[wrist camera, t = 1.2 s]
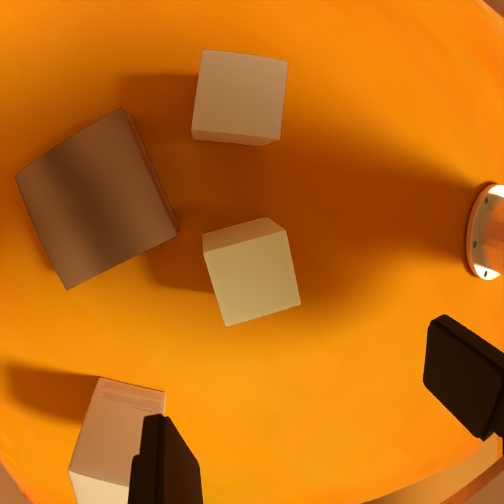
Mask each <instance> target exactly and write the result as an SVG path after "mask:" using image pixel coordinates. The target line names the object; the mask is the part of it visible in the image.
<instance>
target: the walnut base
mask: <svg viewBox="0 0 504 504" xmlns="http://www.w3.org/2000/svg"><path fill="white" fill-rule="evenodd" d="M15 179H16V182H17V185H18V187H19V190H20V193H21V195H22V198H23V200H24V203H25V205H26V208H27V210H28V213H29V215H30V218H31V220H32V222H33V224H34V227H35V229H36V231H37V233H38V236H39V238H40V240H41V242H42V244H43V246H44V248H45V250H46V252H47V254H48V256H49V258H50V260H51V262H52V264H53V266H54V268H55V270H56V272H57V274H58V276H59V278H60V279H61V281H62V283H63V285H64V287H65V289H66V290H69V289H71V288H73V287H75V286H77V285H79V284H81V283H83V282H85V281H86V280H88V279H90V278H92V277H94V276H96V275H98V274H100V273H102V272H104V271H106V270H108V269H110V268H112V267H114V266H116V265H118V264H120V263H122V262H124V261H126V260H128V259H130V258H132V257H134V256H136V255H139V254H141V253H143V252H145V251H147V250H149V249H151V248H153V247H155V246H157V245H159V244H161V243H164V242H166V241H168V240H170V239H172V238H174V237H176V236H178V232H179V229H180V225H179V223H178V221H177V219H176V217H175V215H174V213H173V210H172V208H171V206H170V204H169V202H168V199H167V197H166V195H165V193H164V191H163V188H162V186H161V184H160V182H159V179H158V177H157V175H156V172H155V170H154V168H153V166H152V163H151V161H150V159H149V156H148V154H147V152H146V149H145V147H144V144H143V142H142V140H141V137H140V135H139V132H138V130H137V128H136V125H135V123H134V120H133V118H132V116H131V115H130V114H128V113H127V112H126V111H125V110H123V109H122V108H120V109H119V110H117V111H115V112H113V113H111V114H109V115H107V116H105V117H104V118H102V119H100V120H98V121H96V122H95V123H93V124H91V125H89V126H88V127H86V128H84V129H83V130H81V131H79V132H78V133H76V134H74V135H73V136H71V137H70V138H68V139H66V140H65V141H63V142H62V143H60V144H59V145H57V146H56V147H54V148H53V149H51V150H50V151H48V152H47V153H45V154H44V155H42V156H41V157H39V158H38V159H37V160H35V161H34V162H32V163H31V164H30V165H28V166H27V167H26V168H24V169H23V170H22V171H20V172H19V173H18V174H16V175H15Z"/></svg>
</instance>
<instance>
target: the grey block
mask: <svg viewBox="0 0 504 504" xmlns="http://www.w3.org/2000/svg"><path fill="white" fill-rule="evenodd" d="M287 68H288V61H283V60H278V59H273V58H267V57H261V56H255V55H248V54H241V53H234V52H225V51H216V50H205V49H203V52H202V58H201V64H200V70H199V77H198V83H197V90H196V97H195V104H194V111H193V119H192V127H191V132H192V138H193V140H204V141H215V142H225V143H235V144H244V145H252V146H260V147H261V146H264V145H267V144H270V143H272V142H275V141H278V140H280V135H281V125H282V116H283V107H284V97H285V88H286V78H287Z"/></svg>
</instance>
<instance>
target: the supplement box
mask: <svg viewBox="0 0 504 504" xmlns="http://www.w3.org/2000/svg"><path fill="white" fill-rule="evenodd" d="M165 398H166V393H165V392H161V391H157V390H152V389H147V388H143V387H139V386H134V385H130V384H126V383H122V382H118V381H114V380H111V379H107V378H102V377H100V378H99V379H98V382H97V384H96V387H95V390H94V392H93V395H92V398H91V401H90V403H89V406H88V409H87V412H86V415H85V418H84V421H83V424H82V427H81V430H80V433H79V436H78V439H77V442H76V445H75V449H74V452H73V455H72V458H71V462H70V465H69V468H68V473H69V476H70V480H71V483H72V487H73V490H74V493H75V496H76V499H77V502H78V504H128V493H129V483H130V473H131V465H132V459H133V457H134V455H137V454H139V451H140V442H141V434H142V426H143V419H144V417H145V416H148V415H154V414H159V413H161V414H163V416H164V408H165Z"/></svg>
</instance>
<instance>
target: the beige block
mask: <svg viewBox="0 0 504 504" xmlns="http://www.w3.org/2000/svg"><path fill="white" fill-rule="evenodd" d="M202 246H203V255H204V258H205V262H206V265H207V269H208V272H209V275H210V279H211V282H212V285H213V288H214V292H215V295H216V298H217V301H218V304H219V308H220V311H221V314H222V317H223V320H224V323H225V326H226V327H227V326H231V325H235V324H238V323H242V322H245V321H249V320H252V319H255V318H259V317H262V316H266V315H269V314H272V313H276V312H279V311H282V310H285V309H288V308H292V307H295V306H298V305H301V301H300V296H299V291H298V286H297V281H296V276H295V271H294V266H293V261H292V256H291V251H290V247H289V242H288V237H287V232H286V230H285V229H284V228H282V227H281V226H279V225H278V224H277V223H275V222H274V221H272V220H271V219H269V218H268V217H263V218H259V219H255V220H252V221H248V222H244V223H240V224H237V225H233V226H229V227H226V228H222V229H219V230H215V231H211V232H208V233H204V234H202Z"/></svg>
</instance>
